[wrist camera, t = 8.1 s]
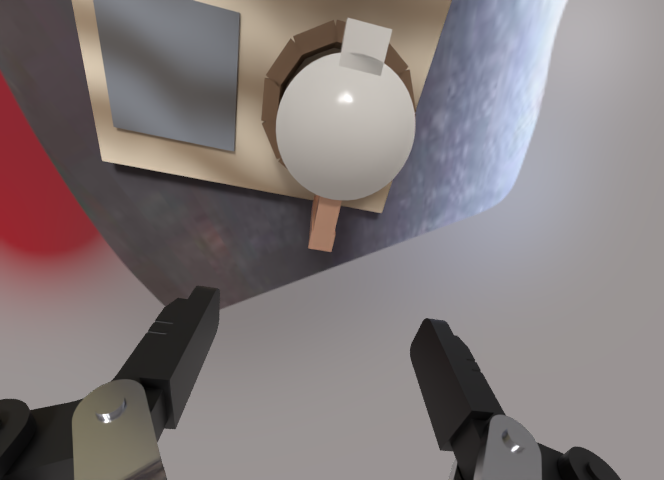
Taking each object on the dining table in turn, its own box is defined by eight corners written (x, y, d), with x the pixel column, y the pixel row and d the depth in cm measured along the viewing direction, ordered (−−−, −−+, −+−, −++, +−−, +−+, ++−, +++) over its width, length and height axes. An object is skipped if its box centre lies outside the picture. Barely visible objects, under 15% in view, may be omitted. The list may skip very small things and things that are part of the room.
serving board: (59, -144, 16) (-34, -224, 11) (452, -20, 19) (489, -49, 15) (111, 157, 24) (68, 172, 20) (379, 208, 27) (389, 230, 23)
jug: (303, 35, 19) (287, 1, 10) (392, 58, 20) (446, 44, 11) (284, 186, 24) (264, 246, 16) (355, 199, 25) (372, 263, 16)
